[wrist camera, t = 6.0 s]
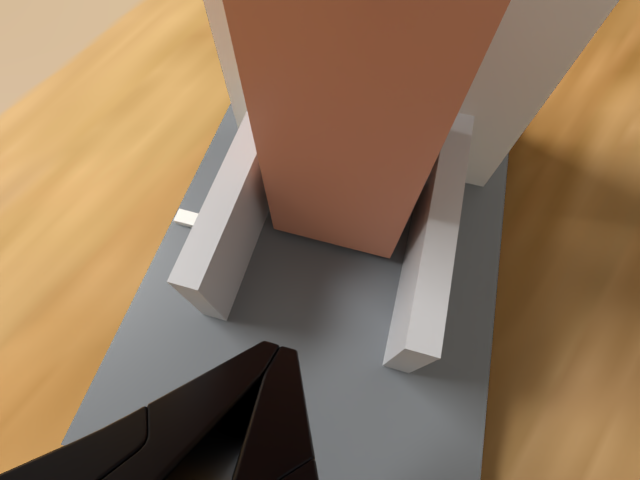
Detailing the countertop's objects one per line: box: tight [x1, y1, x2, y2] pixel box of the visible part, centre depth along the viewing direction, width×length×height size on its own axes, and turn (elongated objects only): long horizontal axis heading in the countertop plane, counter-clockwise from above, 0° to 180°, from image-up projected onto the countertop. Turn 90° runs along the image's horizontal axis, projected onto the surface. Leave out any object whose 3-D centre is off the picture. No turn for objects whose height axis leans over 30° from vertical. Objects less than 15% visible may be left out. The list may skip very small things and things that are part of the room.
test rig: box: [61, 0, 619, 480], centre depth 11 cm, size 20×14×13 cm
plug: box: [222, 0, 511, 259], centre depth 12 cm, size 4×5×11 cm
